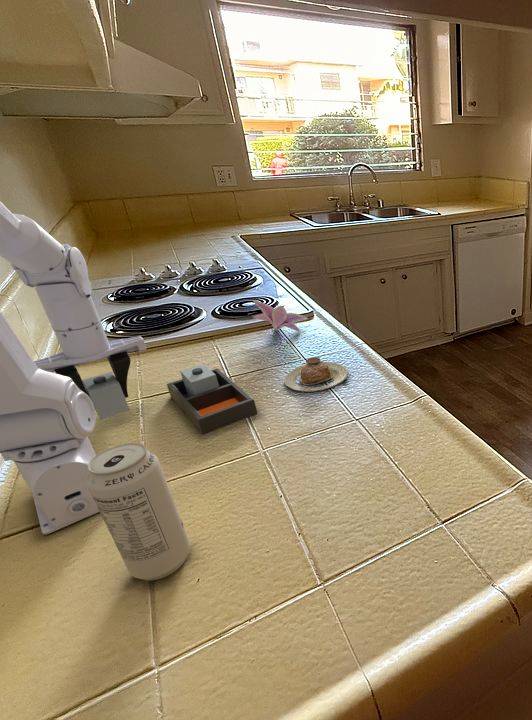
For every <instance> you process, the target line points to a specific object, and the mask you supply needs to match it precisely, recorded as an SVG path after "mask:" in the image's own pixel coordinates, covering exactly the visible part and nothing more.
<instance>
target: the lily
mask: <svg viewBox="0 0 532 720" xmlns="http://www.w3.org/2000/svg"><path fill="white" fill-rule="evenodd" d="M252 302H253V303H254V304H255V305H256V307H258V308H259V309H260V311H261V312H262V313H259V314H255V315H254V316H252V318H253V319H257V320H262V321H266V322H269V323H270V324H271V325H272V328H273V337H272V341H273V343H274V342H275V340H276V331H279V330H280V329H283V328H288V329H290V330H293V331H296V332H298V333H301V330H300V329H299V327H298V326H297V325H296V324H295V323H299V322H302V321H306V320H308V319H309V318H308V317H307V316H304V315H302V314H298V313H294V312H287V310H286V308H285V307H284V306H283V305H278V306H276V307H273V306H272V305H270V304H267V303H265V302H261V301H258V300H253V301H252Z"/></svg>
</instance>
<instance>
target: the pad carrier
mask: <svg viewBox="0 0 532 720" xmlns="http://www.w3.org/2000/svg"><path fill="white" fill-rule="evenodd" d="M210 370H211V371H212V372H213V373H214V374H215V375H216V377H217V381H218V384H219V387H218V388H215V389H212V390H209V391H206V392H203V393H200V394H197V395H194V396H191V397H189V396H188V394H187V391H186V388H185V385H184V382H183V378H181V379H178V380H175V381H172V382H169V383H166V386H167V389H168V393H169V395H170V398H171V399H172V400H173V402H174V403H175V404H176V405H177V407H179V409H180V410H181V411H182V412H183V413H184V415H185V416H186V417H187V419H189V421H190V422H191V423H192V424H193V425H194V426H195V428H196V429H197V430H198V431H199V432H200V433H201V435H202V436H204V435H207V434H209V433H211V432H214V431H216V430H220V429H221V428H224V427H227V426H229V425H232V424H234V423H237V422H239V421H242V420H244V419H247V418H250V417H252V416H255V415H257V414H258V409H257V405H256V402H255V399H254V398H253V397H252V396H251V395H249V394H248V393H247V392H246V391H245V390H244V389H243V388H241V386H239V385H238V384H237V383H236V382H235V381H233V380H232V379H231V378H230V376H228V375H226V374H225V372H223V371H222V370H221V369H220V368H218V367H217V368H214V369H210Z"/></svg>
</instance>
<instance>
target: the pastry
mask: <svg viewBox="0 0 532 720" xmlns="http://www.w3.org/2000/svg"><path fill="white" fill-rule="evenodd" d="M348 375H349V370H348V368H347V367H345V366H344V365H343V364H341V363H338V362H334V361H323V360H321V358H319V357H317V356H316V357H315V356H314V357H309V358H307V359H306V360H305V364H302V365H300V366H297V367H295V368H294V369H292V370H291V371H289V372H288V373H287V374H286V376H285V377H284V380H283V382H284V384H285V386H286V387H287V388H289V389H291V390H293V391H296V392H304V393H313V392H318V391H319V392H320V391H321V392H322V391H324V390H327V389H330V388H333V387H335V386H338V385H339V384H340V385H341V384H342V383H343V382H345V380H346V379H347V377H348ZM298 377H299V378H298ZM297 379H298V380H299V382H300V383H301V384H302V385H304V386H314V385H317V384H321V383H324V382H328V381H331V379H333V380H334V381H333V382H331V383H329V384H325V385H324V386H319V387H303V386H300V385H299V384H297V381H296V380H297Z"/></svg>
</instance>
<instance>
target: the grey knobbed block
mask: <svg viewBox="0 0 532 720" xmlns="http://www.w3.org/2000/svg"><path fill="white" fill-rule="evenodd" d="M112 372H113V371H110V372H107V373H103V374H102V373H101V374H99V375H95V376H92V377H91V376H90V377H89V378H88V377H87V378H85V379H82V382H83V384H84V387H85V389H86V391H87V393H88V394H89V396H90V398H91V400H92V402H93V405H94V407H95V408H94V409H95V413H96V414H97V416H98V418H99V420H104V419H107V418H109V417H112V416H115V415H118V414H119V415H120V414H122V413H125V412H128V411H130V410H131V409H130V406H129V405H128V402H127V399H126V398H125V396H124V394H123V391H122V389H121V386H120V384H119V382H118V381H117V379H116V378H115V375H114V373H112Z"/></svg>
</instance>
